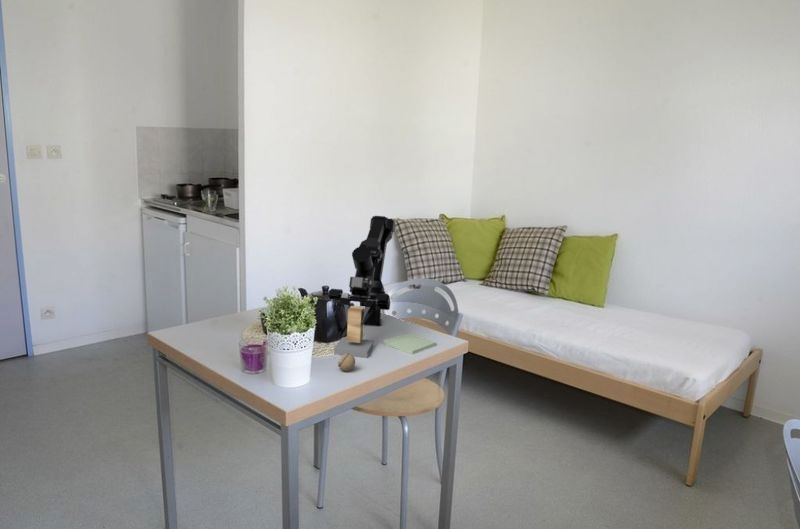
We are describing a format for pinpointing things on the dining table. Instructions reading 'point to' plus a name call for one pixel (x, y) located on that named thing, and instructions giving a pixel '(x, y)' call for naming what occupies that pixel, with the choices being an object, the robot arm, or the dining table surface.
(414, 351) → the sage mat
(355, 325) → the oak block
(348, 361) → the door knob
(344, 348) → the grey block
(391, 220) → the robot arm
